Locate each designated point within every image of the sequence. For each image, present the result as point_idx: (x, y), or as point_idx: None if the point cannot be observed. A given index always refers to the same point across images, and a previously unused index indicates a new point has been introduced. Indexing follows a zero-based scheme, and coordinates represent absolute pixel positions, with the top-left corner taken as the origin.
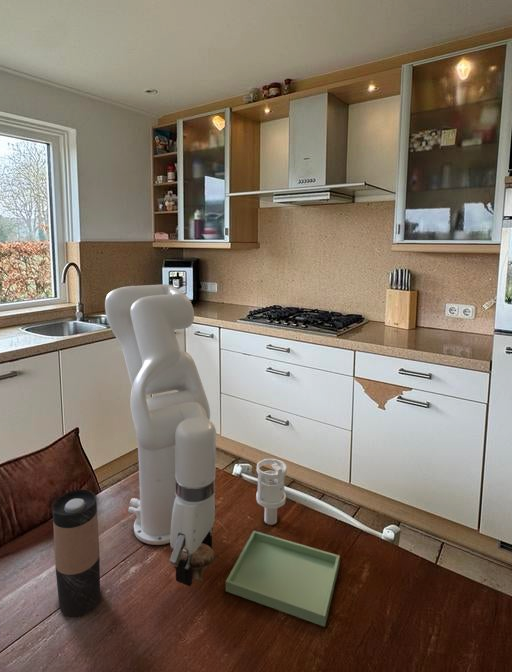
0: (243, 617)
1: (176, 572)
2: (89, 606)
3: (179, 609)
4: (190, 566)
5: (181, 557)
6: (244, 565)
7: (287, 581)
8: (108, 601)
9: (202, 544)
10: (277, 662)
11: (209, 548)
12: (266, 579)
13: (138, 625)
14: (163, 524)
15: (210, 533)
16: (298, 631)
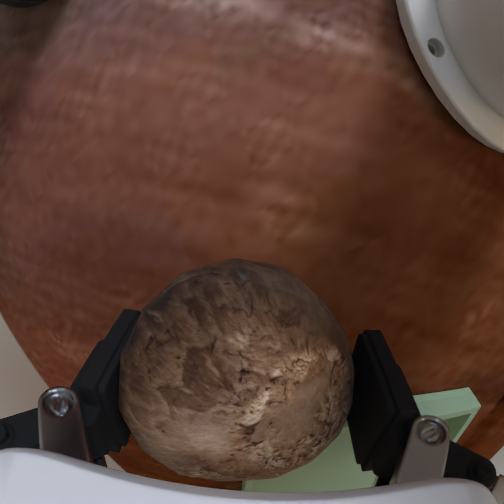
0: None
1: (106, 340)
2: (9, 5)
3: (122, 294)
4: (111, 446)
5: (130, 404)
6: None
7: (320, 487)
8: (60, 24)
9: (301, 457)
10: None
11: (292, 470)
12: (317, 465)
13: (21, 189)
14: (495, 52)
15: (374, 482)
16: None
